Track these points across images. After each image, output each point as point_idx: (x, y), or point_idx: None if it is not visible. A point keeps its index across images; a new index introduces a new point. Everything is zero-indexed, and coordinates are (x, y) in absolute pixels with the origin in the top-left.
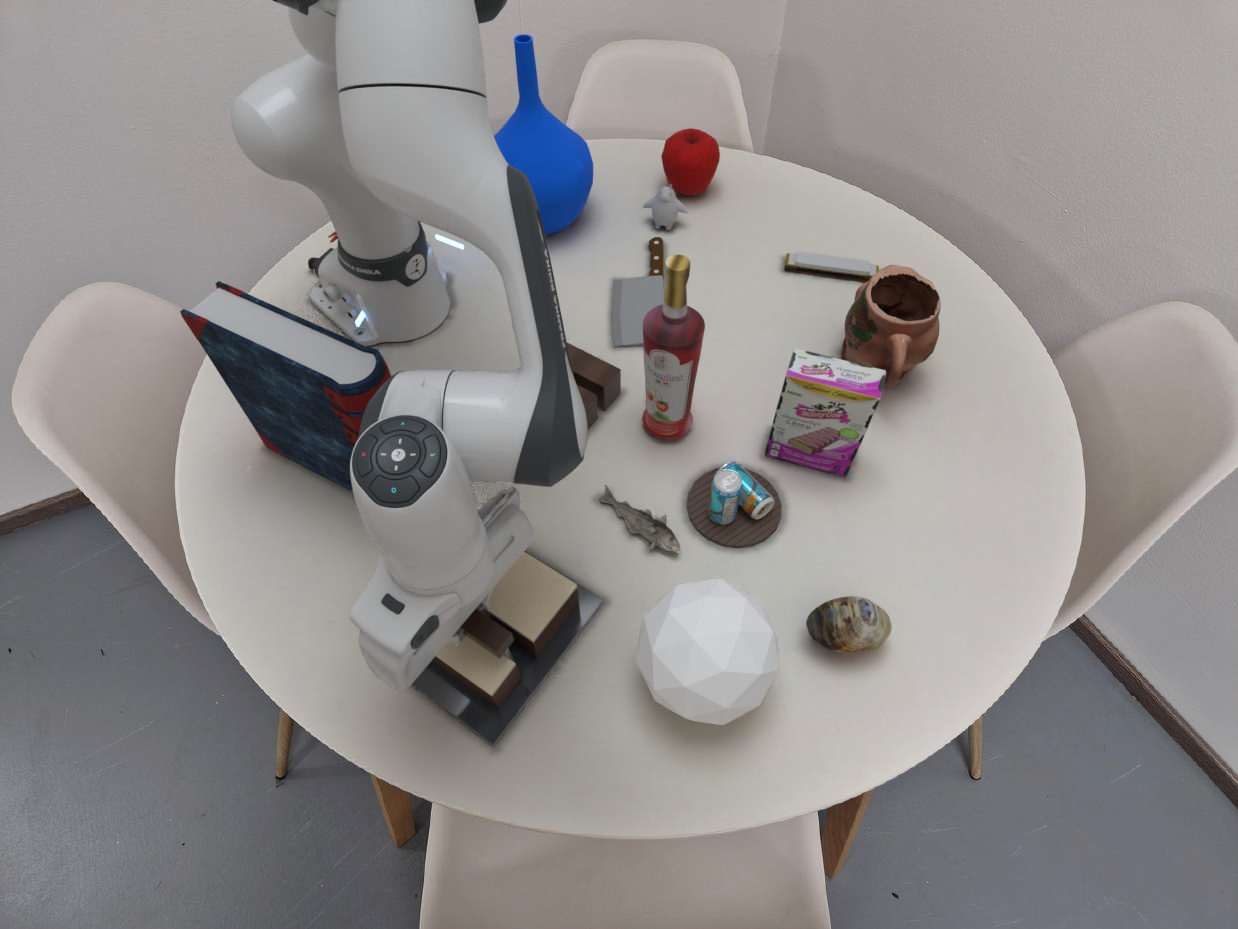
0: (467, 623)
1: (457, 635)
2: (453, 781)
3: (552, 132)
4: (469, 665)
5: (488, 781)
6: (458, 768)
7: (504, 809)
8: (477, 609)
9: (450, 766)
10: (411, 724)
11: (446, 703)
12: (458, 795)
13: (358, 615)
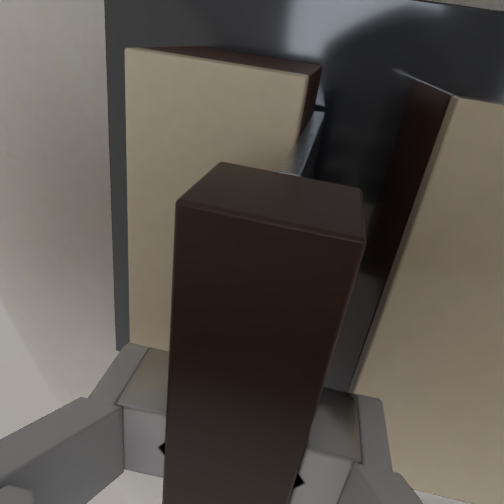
0: (196, 489)
1: (112, 478)
2: (26, 301)
3: None
4: (162, 349)
5: (68, 354)
6: (48, 299)
7: (54, 390)
8: (292, 500)
9: (40, 284)
10: (43, 160)
11: (122, 225)
12: (16, 319)
13: None
